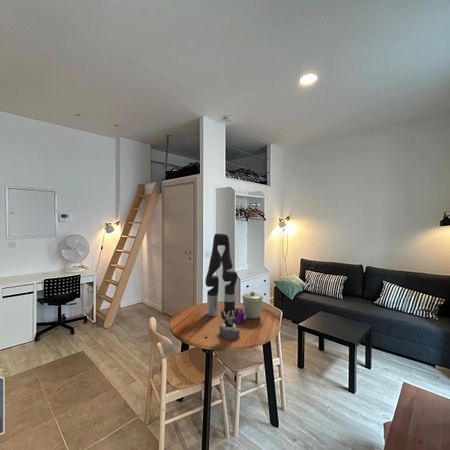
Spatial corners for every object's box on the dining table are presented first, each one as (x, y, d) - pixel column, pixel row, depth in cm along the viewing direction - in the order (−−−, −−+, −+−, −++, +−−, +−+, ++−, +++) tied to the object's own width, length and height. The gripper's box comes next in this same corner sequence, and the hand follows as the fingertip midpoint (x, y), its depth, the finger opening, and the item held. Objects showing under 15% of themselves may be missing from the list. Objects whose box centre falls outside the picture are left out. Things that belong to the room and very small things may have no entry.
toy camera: (245, 324, 186) (245, 312, 186) (228, 323, 189) (228, 310, 189) (247, 319, 197) (247, 307, 197) (230, 318, 199) (230, 305, 199)
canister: (261, 312, 212) (261, 288, 212) (265, 320, 194) (265, 294, 194) (240, 312, 212) (240, 288, 212) (242, 320, 194) (242, 294, 194)
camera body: (219, 333, 172) (219, 323, 171) (230, 330, 176) (230, 321, 176) (227, 340, 161) (227, 329, 161) (239, 337, 165) (239, 327, 165)
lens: (224, 326, 169) (225, 314, 169) (230, 324, 171) (230, 313, 171) (228, 328, 165) (228, 316, 165) (233, 327, 167) (234, 315, 167)
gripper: (235, 296, 175) (235, 320, 175) (218, 299, 168) (217, 324, 168) (241, 299, 168) (240, 324, 168) (223, 302, 162) (222, 328, 162)
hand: (229, 324), depth 168 cm, fingers closed on lens, 4 cm apart
